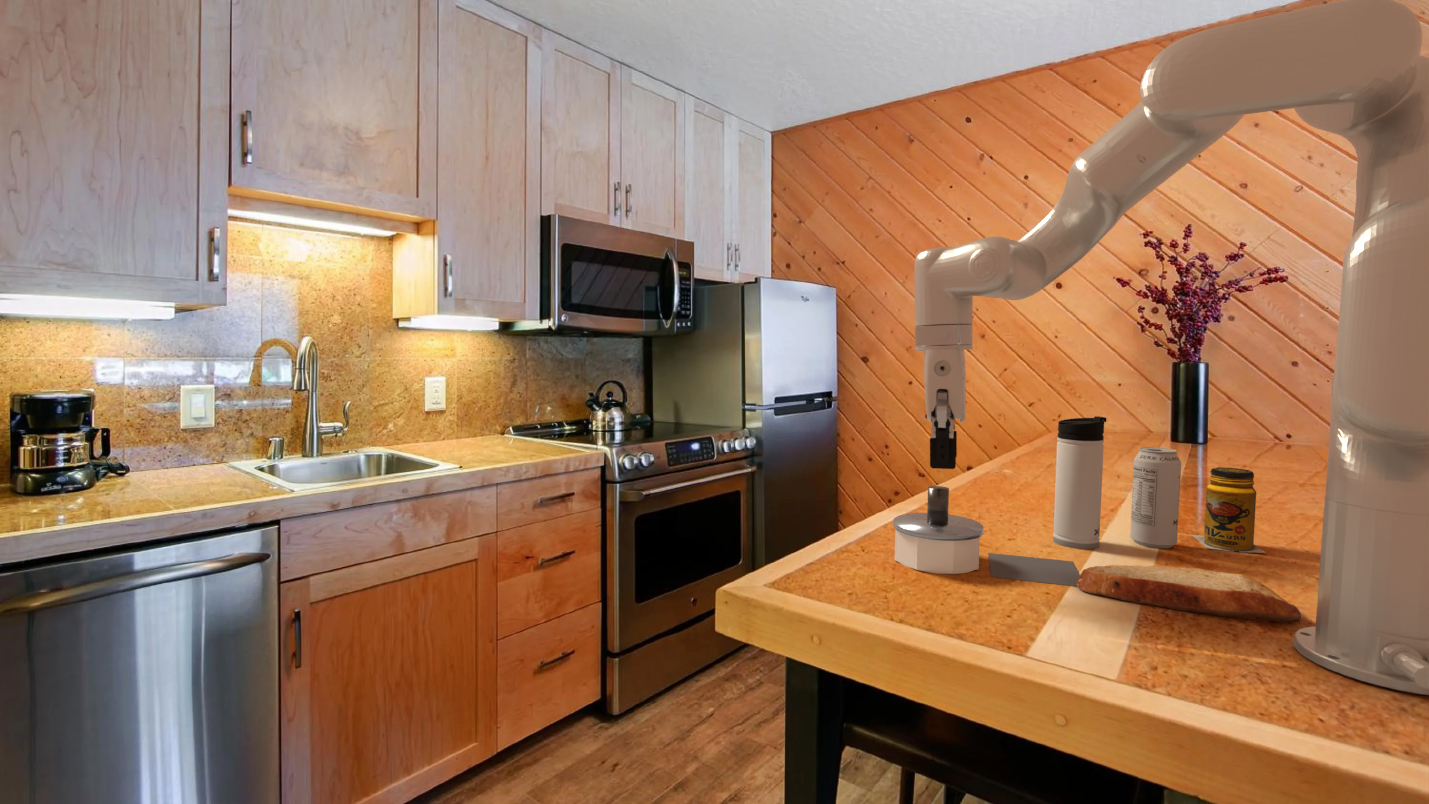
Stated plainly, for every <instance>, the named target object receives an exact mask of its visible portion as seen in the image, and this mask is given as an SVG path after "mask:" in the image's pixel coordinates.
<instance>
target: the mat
mask: <svg viewBox="0 0 1429 804" xmlns="http://www.w3.org/2000/svg"><path fill="white" fill-rule="evenodd" d="M988 563H989V573H990V578H997V579H1006V580H1013V581H1022V582H1031V583H1040V584H1049V585H1058V586H1067V587H1076V588H1078V586H1077V585H1076V582H1077V581H1078V579H1079V577H1080V575H1081V574H1080V573H1079V570H1077V567H1076V565H1075V563H1074V561H1072V560H1062V559H1054V558H1042V557H1033V556H1023V555H1022V556H1021V555H1013V554H1012V555H1011V554H1003V553H994V552H993V553H992V552H988Z"/></svg>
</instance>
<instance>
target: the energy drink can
mask: <svg viewBox="0 0 1429 804" xmlns="http://www.w3.org/2000/svg"><path fill="white" fill-rule="evenodd" d="M1177 453H1178V450H1176V449H1173V448H1165V447H1150V446H1149V447H1145V446H1143V447H1139V448H1138V453H1137V454H1136V456H1135V457H1134V460H1133V471H1132V475H1133V476H1132V490H1131V491H1132V492H1131V493H1132V494H1131V497H1132V498H1131V513H1130V515H1131V516H1130V536H1129V537H1130V539H1131V540H1133V542H1134V543H1135V544H1137V545H1140V546H1143V547H1149V548H1155V549H1171V548H1173V547H1174V546H1175V545H1177V544H1178V532H1179V531H1178V530H1179V528H1178V527H1179V513H1180V512H1179V511H1180V495H1181V493H1180V492H1181V477H1182V476H1181V475H1182V461H1181V459H1180V457H1179V456H1178V454H1177Z"/></svg>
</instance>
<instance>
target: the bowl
mask: <svg viewBox="0 0 1429 804" xmlns="http://www.w3.org/2000/svg"><path fill="white" fill-rule="evenodd" d="M980 538H981V537H978V538H975V539H971V540H961V541H943V540H932V539H924V538H919V537H914V536H910V535H907V534H904V533H901V532H899V531H897V530H896V529H895V528H894V561H896V562H897V563H900V564H901V565H902V566H904V567H907V568H909V569H912V570H915V571H920V572H925V573H931V574H939V575H942V574H943V575H959V574H966V573H970V572H973V571H977V570H979V569H980V566H979V565H980V540H981V539H980Z"/></svg>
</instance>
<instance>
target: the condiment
mask: <svg viewBox="0 0 1429 804" xmlns="http://www.w3.org/2000/svg"><path fill="white" fill-rule="evenodd" d="M1254 478H1255V473H1254V471H1252V470H1249V469H1245V468H1236V467H1227V466H1226V467H1220V466H1219V467H1213V468H1211V469H1210V478H1209V481H1210V483H1209V484H1208V485H1207V487H1206V490H1205V491H1206V493H1205V494H1206V495H1205V509H1204V511H1205V513H1204V525H1203V527H1204V531H1203V532H1204V534H1203V535H1199V534H1198V535H1197V534H1191V536H1192V538H1194V539H1195V540H1197V541H1198V542H1199V544H1201V545H1202V546H1203V547H1205V548H1206V549H1209V550H1219V551H1224V552H1225V551H1226V552H1234V551H1239V552H1240V553H1257V554H1266V555H1267V554H1268V553H1267V552H1266V551H1264V550H1262V549H1261V548H1259V547H1258V546H1256V545H1255V540H1254V539H1255V526H1256V525H1255V522H1256V504H1257V503H1256V502H1257V490H1256V489H1255V488H1254V484H1255V481H1254ZM1205 544H1206V545H1205ZM1230 550H1231V551H1230ZM1239 552H1238V553H1239Z"/></svg>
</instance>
